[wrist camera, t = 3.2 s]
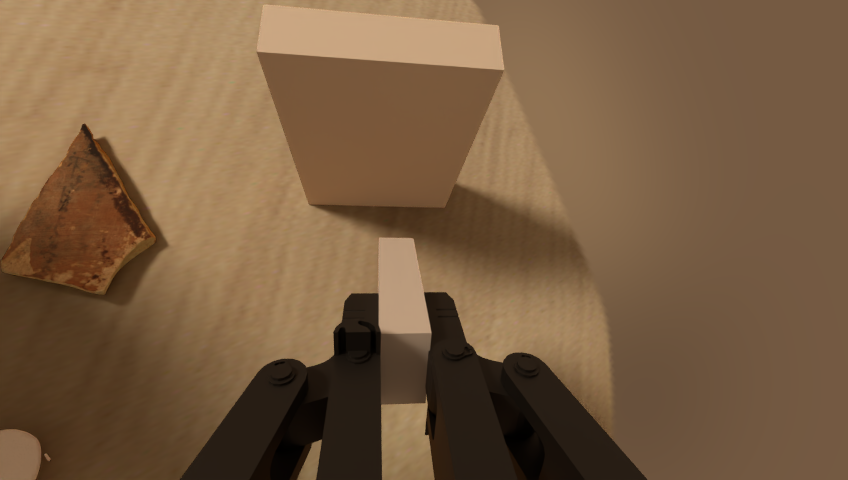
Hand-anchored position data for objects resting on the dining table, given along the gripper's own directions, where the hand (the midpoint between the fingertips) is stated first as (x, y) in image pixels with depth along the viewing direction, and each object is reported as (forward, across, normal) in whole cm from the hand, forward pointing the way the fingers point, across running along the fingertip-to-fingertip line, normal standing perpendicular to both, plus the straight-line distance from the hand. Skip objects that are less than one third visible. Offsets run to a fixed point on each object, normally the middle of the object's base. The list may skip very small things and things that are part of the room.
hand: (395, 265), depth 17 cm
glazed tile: (+13, -1, -1) cm, 13 cm away
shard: (+11, -21, -3) cm, 24 cm away
